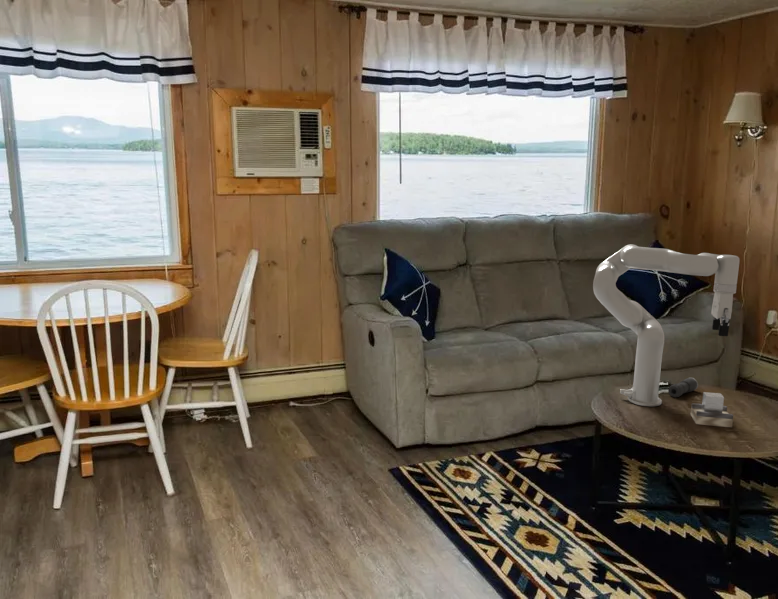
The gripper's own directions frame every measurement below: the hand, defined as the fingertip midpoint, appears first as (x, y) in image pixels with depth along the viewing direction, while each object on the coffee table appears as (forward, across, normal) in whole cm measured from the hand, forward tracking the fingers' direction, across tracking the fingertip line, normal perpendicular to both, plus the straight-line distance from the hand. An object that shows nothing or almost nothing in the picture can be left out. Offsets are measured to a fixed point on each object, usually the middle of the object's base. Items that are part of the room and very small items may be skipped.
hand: (719, 332), depth 255 cm
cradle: (+30, +13, -3) cm, 33 cm away
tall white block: (+27, +13, -3) cm, 31 cm away
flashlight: (+31, -17, -7) cm, 36 cm away
